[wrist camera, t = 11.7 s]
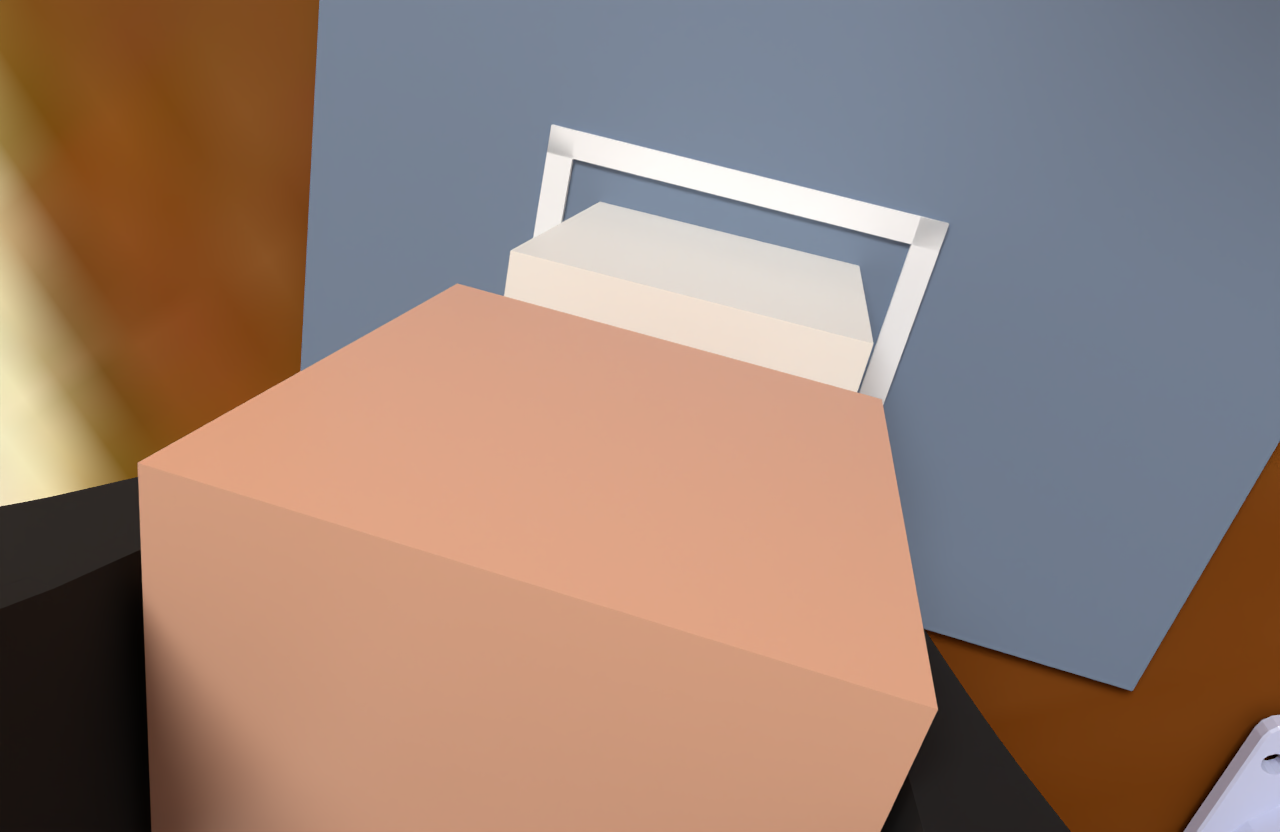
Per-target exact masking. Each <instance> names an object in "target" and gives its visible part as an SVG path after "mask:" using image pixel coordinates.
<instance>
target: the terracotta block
mask: <svg viewBox="0 0 1280 832" xmlns="http://www.w3.org/2000/svg"><path fill="white" fill-rule="evenodd" d="M138 485H139V511H140V538H141V565H142V592H143V618H144V645H145V672H146V699H147V725H148V752H149V779H150V806H151V832H880V831H881V829H882V827H883V825H884V823H885V821H886V819H887V817H888V815H889V812H890V810H891V808H892V806H893V804H894V802H895V800H896V798H897V795H898V793H899V791H900V789H901V787H902V785H903V783H904V781H905V778H906V776H907V774H908V772H909V770H910V768H911V766H912V764H913V761H914V759H915V757H916V755H917V753H918V751H919V749H920V747H921V744H922V742H923V740H924V738H925V736H926V734H927V732H928V730H929V728H930V725H931V723H932V721H933V719H934V717H935V715H936V713H937V711H938V707H937V701H936V696H935V690H934V685H933V679H932V674H931V668H930V662H929V657H928V651H927V646H926V640H925V635H924V629H923V624H922V618H921V613H920V607H919V602H918V596H917V591H916V585H915V580H914V574H913V568H912V563H911V557H910V552H909V546H908V541H907V535H906V530H905V524H904V519H903V513H902V508H901V502H900V497H899V491H898V486H897V480H896V474H895V469H894V463H893V458H892V452H891V447H890V441H889V436H888V430H887V425H886V419H885V414H884V408H883V403H882V399H879V398H876V397H872V396H868V395H865V394H861V393H857V392H854V391H850V390H846V389H843V388H839V387H835V386H832V385H828V384H824V383H821V382H817V381H813V380H810V379H806V378H802V377H799V376H795V375H791V374H788V373H784V372H780V371H777V370H773V369H769V368H766V367H762V366H758V365H755V364H751V363H747V362H744V361H740V360H736V359H733V358H729V357H725V356H722V355H718V354H714V353H711V352H707V351H703V350H700V349H696V348H692V347H689V346H685V345H681V344H678V343H674V342H670V341H667V340H663V339H659V338H656V337H652V336H648V335H645V334H641V333H637V332H634V331H630V330H626V329H623V328H619V327H615V326H612V325H608V324H604V323H601V322H597V321H593V320H589V319H586V318H582V317H578V316H575V315H571V314H567V313H564V312H560V311H556V310H553V309H549V308H545V307H542V306H538V305H534V304H531V303H527V302H523V301H520V300H516V299H512V298H509V297H505V296H501V295H498V294H494V293H490V292H487V291H483V290H479V289H476V288H472V287H468V286H465V285H461V284H456V285H454V286H452V287H450V288H448V289H447V290H445V291H443V292H441V293H440V294H438V295H436V296H434V297H432V298H431V299H429V300H427V301H425V302H424V303H422V304H420V305H418V306H416V307H415V308H413V309H411V310H409V311H407V312H406V313H404V314H402V315H400V316H399V317H397V318H395V319H393V320H391V321H390V322H388V323H386V324H384V325H383V326H381V327H379V328H377V329H375V330H374V331H372V332H370V333H368V334H366V335H365V336H363V337H361V338H359V339H358V340H356V341H354V342H352V343H350V344H349V345H347V346H345V347H343V348H342V349H340V350H338V351H336V352H334V353H333V354H331V355H329V356H327V357H325V358H324V359H322V360H320V361H318V362H317V363H315V364H313V365H311V366H309V367H308V368H306V369H304V370H302V371H301V372H299V373H297V374H295V375H293V376H292V377H290V378H288V379H286V380H285V381H283V382H281V383H279V384H277V385H276V386H274V387H272V388H270V389H268V390H267V391H265V392H263V393H261V394H260V395H258V396H256V397H254V398H252V399H251V400H249V401H247V402H245V403H244V404H242V405H240V406H238V407H236V408H235V409H233V410H231V411H229V412H227V413H226V414H224V415H222V416H220V417H219V418H217V419H215V420H213V421H211V422H210V423H208V424H206V425H204V426H203V427H201V428H199V429H197V430H195V431H194V432H192V433H190V434H188V435H186V436H185V437H183V438H181V439H179V440H178V441H176V442H174V443H172V444H170V445H169V446H167V447H165V448H163V449H162V450H160V451H158V452H156V453H154V454H153V455H151V456H149V457H147V458H146V459H144V460H142V461H140V462H138Z"/></svg>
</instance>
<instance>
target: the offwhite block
mask: <svg viewBox="0 0 1280 832" xmlns="http://www.w3.org/2000/svg"><path fill="white" fill-rule="evenodd" d="M504 296H505V297H509V298H512V299H516V300H520V301H523V302H527V303H531V304H534V305H538V306H542V307H545V308H549V309H553V310H556V311H560V312H564V313H567V314H571V315H575V316H578V317H582V318H586V319H589V320H593V321H597V322H601V323H604V324H608V325H612V326H615V327H619V328H623V329H626V330H630V331H634V332H637V333H641V334H645V335H648V336H652V337H656V338H659V339H663V340H667V341H670V342H674V343H678V344H681V345H685V346H689V347H692V348H696V349H700V350H703V351H707V352H711V353H714V354H718V355H722V356H725V357H729V358H733V359H736V360H740V361H744V362H747V363H751V364H755V365H758V366H762V367H766V368H769V369H773V370H777V371H780V372H784V373H788V374H791V375H795V376H799V377H802V378H806V379H810V380H813V381H817V382H821V383H824V384H828V385H832V386H835V387H839V388H843V389H846V390H850V391H854V392H857V391H858V389H859V386H860V383H861V380H862V377H863V374H864V371H865V368H866V365H867V362H868V359H869V356H870V353H871V350H872V347H873V344H874V343H873V338H872V332H871V327H870V321H869V316H868V310H867V305H866V300H865V294H864V289H863V283H862V278H861V272H860V267H859V266H858V265H854V264H850V263H846V262H842V261H838V260H834V259H830V258H826V257H822V256H818V255H814V254H810V253H806V252H802V251H798V250H794V249H790V248H786V247H781V246H777V245H773V244H769V243H765V242H761V241H757V240H753V239H749V238H745V237H741V236H737V235H733V234H729V233H725V232H721V231H717V230H713V229H709V228H705V227H701V226H697V225H693V224H689V223H684V222H680V221H676V220H672V219H668V218H664V217H660V216H656V215H652V214H648V213H644V212H640V211H636V210H632V209H628V208H624V207H620V206H616V205H612V204H608V203H604V202H598V203H597V204H595V205H593V206H591V207H589V208H587V209H586V210H584V211H582V212H580V213H578V214H576V215H575V216H573V217H571V218H569V219H567V220H565V221H564V222H562V223H560V224H558V225H556V226H554V227H553V228H551V229H549V230H547V231H545V232H543V233H542V234H540V235H538V236H536V237H534V238H532V239H531V240H529V241H527V242H525V243H523V244H521V245H520V246H518V247H516V248H514V249H512V250H511V251H510V258H509V265H508V272H507V279H506V286H505V293H504Z"/></svg>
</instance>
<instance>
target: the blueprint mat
mask: <svg viewBox="0 0 1280 832" xmlns="http://www.w3.org/2000/svg"><path fill="white" fill-rule="evenodd" d="M598 202H604V203H608V204H612V205H616V206H620V207H624V208H628V209H632V210H636V211H640V212H644V213H648V214H652V215H656V216H660V217H664V218H668V219H672V220H676V221H680V222H684V223H689V224H693V225H697V226H701V227H705V228H709V229H713V230H717V231H721V232H725V233H729V234H733V235H737V236H741V237H745V238H749V239H753V240H757V241H761V242H765V243H769V244H773V245H777V246H781V247H786V248H790V249H794V250H798V251H802V252H806V253H810V254H814V255H818V256H822V257H826V258H830V259H834V260H838V261H842V262H846V263H850V264H854V265H858V266H859V267H860V272H861V278H862V283H863V289H864V294H865V300H866V305H867V310H868V316H869V321H870V327H871V332H872V338H873V343H874V344H873V347H872V350H871V353H870V356H869V359H868V362H867V365H866V368H865V371H864V374H863V377H862V380H861V383H860V386H859V389H858V391H857V393H861V394H865V395H868V396H872V397H876V398H879V399H882V403H883V408H884V414H885V419H886V425H887V430H888V436H889V441H890V447H891V452H892V458H893V463H894V469H895V474H896V480H897V486H898V491H899V497H900V502H901V508H902V513H903V519H904V524H905V530H906V535H907V541H908V546H909V552H910V557H911V563H912V568H913V574H914V580H915V585H916V591H917V596H918V602H919V607H920V613H921V618H922V624H923V628H924V629H927V630H930V631H933V632H937V633H940V634H943V635H947V636H950V637H953V638H957V639H960V640H963V641H967V642H970V643H973V644H977V645H980V646H983V647H987V648H990V649H993V650H997V651H1000V652H1003V653H1007V654H1010V655H1013V656H1017V657H1020V658H1023V659H1027V660H1030V661H1033V662H1037V663H1040V664H1043V665H1047V666H1050V667H1053V668H1057V669H1060V670H1063V671H1067V672H1070V673H1073V674H1077V675H1080V676H1083V677H1087V678H1090V679H1093V680H1097V681H1100V682H1103V683H1107V684H1110V685H1113V686H1117V687H1120V688H1123V689H1127V690H1130V691H1133V689H1134V687H1135V686H1136V684H1137V682H1138V681H1139V679H1140V677H1141V676H1142V674H1143V672H1144V670H1145V669H1146V667H1147V665H1148V664H1149V662H1150V660H1151V659H1152V657H1153V655H1154V653H1155V652H1156V650H1157V648H1158V647H1159V645H1160V643H1161V642H1162V640H1163V638H1164V636H1165V635H1166V633H1167V631H1168V630H1169V628H1170V626H1171V625H1172V623H1173V621H1174V619H1175V618H1176V616H1177V614H1178V613H1179V611H1180V609H1181V608H1182V606H1183V604H1184V603H1185V601H1186V599H1187V597H1188V596H1189V594H1190V592H1191V591H1192V589H1193V587H1194V586H1195V584H1196V582H1197V580H1198V579H1199V577H1200V575H1201V574H1202V572H1203V570H1204V569H1205V567H1206V565H1207V563H1208V562H1209V560H1210V558H1211V557H1212V555H1213V553H1214V552H1215V550H1216V548H1217V546H1218V545H1219V543H1220V541H1221V540H1222V538H1223V536H1224V535H1225V533H1226V531H1227V529H1228V528H1229V526H1230V524H1231V523H1232V521H1233V519H1234V518H1235V516H1236V514H1237V512H1238V511H1239V509H1240V507H1241V506H1242V504H1243V502H1244V501H1245V499H1246V497H1247V495H1248V494H1249V492H1250V490H1251V489H1252V487H1253V485H1254V484H1255V482H1256V480H1257V478H1258V477H1259V475H1260V473H1261V472H1262V470H1263V468H1264V467H1265V465H1266V463H1267V461H1268V460H1269V458H1270V456H1271V455H1272V453H1273V451H1274V450H1275V448H1276V446H1277V444H1278V443H1279V441H1280V0H320V1H319V21H318V41H317V60H316V80H315V100H314V119H313V139H312V158H311V178H310V198H309V217H308V237H307V257H306V276H305V296H304V315H303V335H302V355H301V371H302V370H304V369H306V368H308V367H309V366H311V365H313V364H315V363H317V362H318V361H320V360H322V359H324V358H325V357H327V356H329V355H331V354H333V353H334V352H336V351H338V350H340V349H342V348H343V347H345V346H347V345H349V344H350V343H352V342H354V341H356V340H358V339H359V338H361V337H363V336H365V335H366V334H368V333H370V332H372V331H374V330H375V329H377V328H379V327H381V326H383V325H384V324H386V323H388V322H390V321H391V320H393V319H395V318H397V317H399V316H400V315H402V314H404V313H406V312H407V311H409V310H411V309H413V308H415V307H416V306H418V305H420V304H422V303H424V302H425V301H427V300H429V299H431V298H432V297H434V296H436V295H438V294H440V293H441V292H443V291H445V290H447V289H448V288H450V287H452V286H454V285H456V284H461V285H465V286H468V287H472V288H476V289H479V290H483V291H487V292H490V293H494V294H498V295H501V296H504V293H505V286H506V279H507V272H508V265H509V258H510V251H511V250H512V249H514V248H516V247H518V246H520V245H521V244H523V243H525V242H527V241H529V240H531V239H532V238H534V237H536V236H538V235H540V234H542V233H543V232H545V231H547V230H549V229H551V228H553V227H554V226H556V225H558V224H560V223H562V222H564V221H565V220H567V219H569V218H571V217H573V216H575V215H576V214H578V213H580V212H582V211H584V210H586V209H587V208H589V207H591V206H593V205H595V204H597V203H598Z"/></svg>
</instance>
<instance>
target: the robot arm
mask: <svg viewBox="0 0 1280 832" xmlns="http://www.w3.org/2000/svg"><path fill="white" fill-rule="evenodd" d="M923 629H924V628H923ZM924 635H925V640H926V646H927V651H928V657H929V662H930V668H931V674H932V679H933V685H934V690H935V696H936V701H937V707H938V711H937V713H936V715H935V717H934V719H933V721H932V723H931V725H930V728H929V730H928V732H927V734H926V736H925V738H924V740H923V742H922V744H921V747H920V749H919V751H918V753H917V755H916V757H915V759H914V761H913V764H912V766H911V768H910V770H909V772H908V774H907V776H906V778H905V781H904V783H903V785H902V787H901V789H900V791H899V793H898V795H897V798H896V800H895V802H894V804H893V806H892V808H891V810H890V812H889V815H888V817H887V819H886V821H885V823H884V825H883V827H882V829H881V831H880V832H1071V831H1070V830H1069V829H1068V828H1067V826H1066V825H1065V824H1064V823H1063V821H1062V820H1061V819H1060V817H1059V816H1058V815H1057V814H1056V812H1055V811H1054V810H1053V809H1052V807H1051V806H1050V805H1049V803H1048V802H1047V801H1046V800H1045V798H1044V797H1043V796H1042V795H1041V793H1040V792H1039V791H1038V789H1037V788H1036V787H1035V786H1034V784H1033V783H1032V782H1031V781H1030V779H1029V778H1028V777H1027V775H1026V774H1025V773H1024V772H1023V770H1022V769H1021V768H1020V766H1019V765H1018V764H1017V762H1016V761H1015V760H1014V758H1013V757H1012V756H1011V754H1010V753H1009V751H1008V750H1007V749H1006V747H1005V746H1004V745H1003V743H1002V742H1001V741H1000V739H999V738H998V737H997V735H996V734H995V732H994V731H993V730H992V728H991V727H990V725H989V724H988V723H987V721H986V720H985V718H984V717H983V716H982V714H981V713H980V711H979V710H978V708H977V707H976V705H975V704H974V703H973V701H972V700H971V698H970V697H969V695H968V694H967V692H966V691H965V690H964V688H963V687H962V685H961V684H960V682H959V681H958V679H957V678H956V676H955V675H954V673H953V672H952V670H951V669H950V667H949V666H948V664H947V663H946V661H945V660H944V658H943V657H942V655H941V654H940V652H939V651H938V649H937V648H936V646H935V645H934V643H933V642H932V640H931V638H930V637H929V635H928V634H927V632H926V631H925V629H924ZM1273 754H1280V715H1274V716H1270V717H1268V718H1266V719H1263V720H1261V721H1260V722H1259V723H1258V724H1257V725H1256V726H1255V727H1254V729H1253V730H1252V732H1251V733H1250V735H1249V736H1248V738H1247V739H1246V741H1245V742H1244V743H1243V745H1242V746H1241V748H1240V749H1239V751H1238V752H1237V754H1236V755H1235V757H1234V758H1233V760H1232V761H1231V763H1230V764H1229V766H1228V767H1227V768H1226V770H1225V771H1224V773H1223V774H1222V776H1221V777H1220V779H1219V780H1218V782H1217V783H1216V785H1215V786H1214V788H1213V789H1212V790H1211V792H1210V793H1209V795H1208V796H1207V798H1206V799H1205V801H1204V802H1203V804H1202V805H1201V807H1200V808H1199V810H1198V811H1197V812H1196V814H1195V815H1194V817H1193V818H1192V820H1191V821H1190V823H1189V824H1188V826H1187V827H1186V829H1185V830H1184V832H1280V755H1278V756H1277V757H1276V758H1274V759H1271V760H1263V759H1264V758H1266V757H1267V756H1269V755H1273ZM0 832H151V806H150V779H149V752H148V725H147V699H146V672H145V645H144V618H143V592H142V565H141V538H140V511H139V485H138V477H136V478H132V479H127V480H123V481H118V482H114V483H110V484H105V485H101V486H97V487H92V488H88V489H83V490H79V491H75V492H70V493H66V494H62V495H57V496H53V497H48V498H43V499H38V500H33V501H28V502H23V503H17V504H12V505H6V506H1V507H0Z"/></svg>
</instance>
